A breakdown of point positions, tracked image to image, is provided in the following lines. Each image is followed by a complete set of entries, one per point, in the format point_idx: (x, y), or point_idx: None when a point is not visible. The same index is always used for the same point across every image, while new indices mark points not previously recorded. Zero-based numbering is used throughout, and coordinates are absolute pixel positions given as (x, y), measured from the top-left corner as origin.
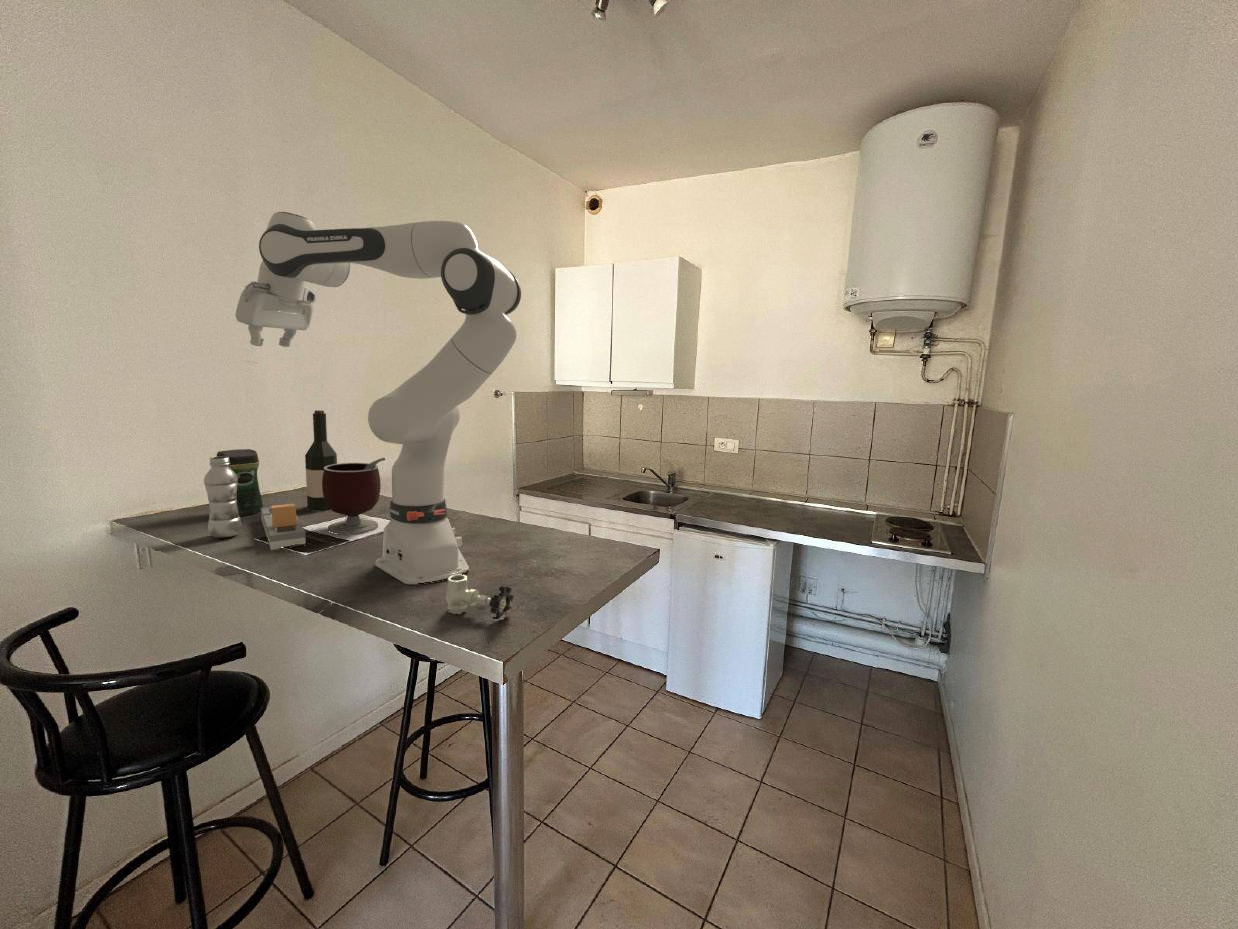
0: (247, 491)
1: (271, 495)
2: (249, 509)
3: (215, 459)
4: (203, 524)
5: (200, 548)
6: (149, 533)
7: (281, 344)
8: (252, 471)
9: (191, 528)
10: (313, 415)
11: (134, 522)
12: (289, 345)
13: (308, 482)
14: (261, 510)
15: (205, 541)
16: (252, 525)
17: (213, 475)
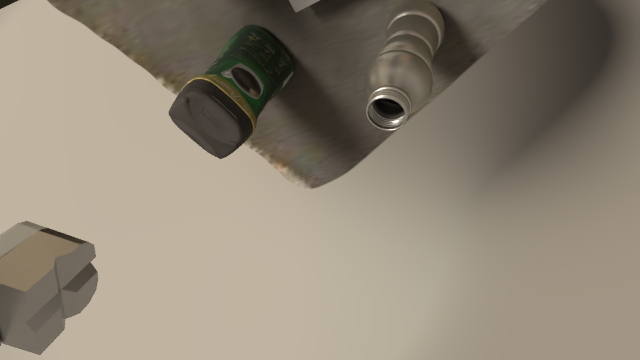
0: (256, 62)
1: (142, 53)
2: (271, 42)
3: (407, 115)
4: (338, 87)
5: (492, 33)
6: (387, 137)
7: (87, 281)
8: (226, 75)
9: (362, 95)
10: (2, 4)
11: (330, 171)
12: (22, 228)
13: None
14: (312, 3)
15: (446, 43)
16: (343, 3)
17: (424, 95)
